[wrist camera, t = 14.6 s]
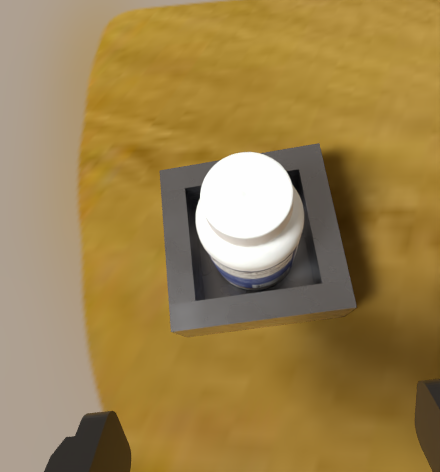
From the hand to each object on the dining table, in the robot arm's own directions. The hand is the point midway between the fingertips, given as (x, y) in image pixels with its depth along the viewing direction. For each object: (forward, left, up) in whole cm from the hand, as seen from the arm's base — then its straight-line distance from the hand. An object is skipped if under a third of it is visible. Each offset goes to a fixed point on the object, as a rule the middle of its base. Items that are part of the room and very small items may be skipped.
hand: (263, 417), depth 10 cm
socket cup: (-8, -4, -14) cm, 17 cm away
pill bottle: (-7, -4, -13) cm, 16 cm away
